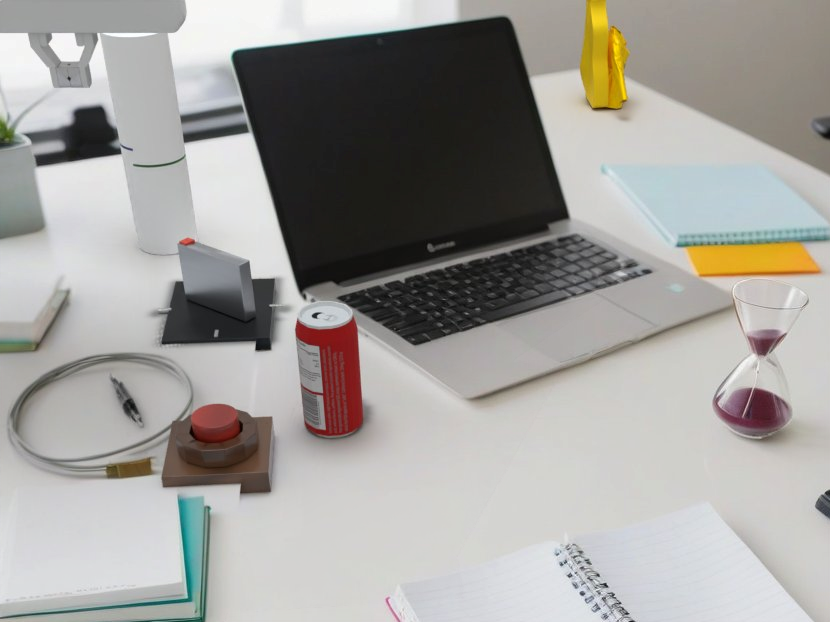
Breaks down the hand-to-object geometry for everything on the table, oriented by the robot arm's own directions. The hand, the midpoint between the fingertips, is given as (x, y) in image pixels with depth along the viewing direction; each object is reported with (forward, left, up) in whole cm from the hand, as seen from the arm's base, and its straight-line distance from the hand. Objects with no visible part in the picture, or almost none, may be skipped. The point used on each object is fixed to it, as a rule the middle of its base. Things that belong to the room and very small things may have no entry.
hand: (73, 86), depth 98 cm
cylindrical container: (0, +33, -29) cm, 44 cm away
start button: (+10, -16, -25) cm, 31 cm away
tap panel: (+8, +12, -29) cm, 32 cm away
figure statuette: (+63, +83, -29) cm, 109 cm away
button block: (+10, -16, -29) cm, 34 cm away
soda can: (+20, -10, -29) cm, 37 cm away
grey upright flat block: (+8, +12, -27) cm, 31 cm away
